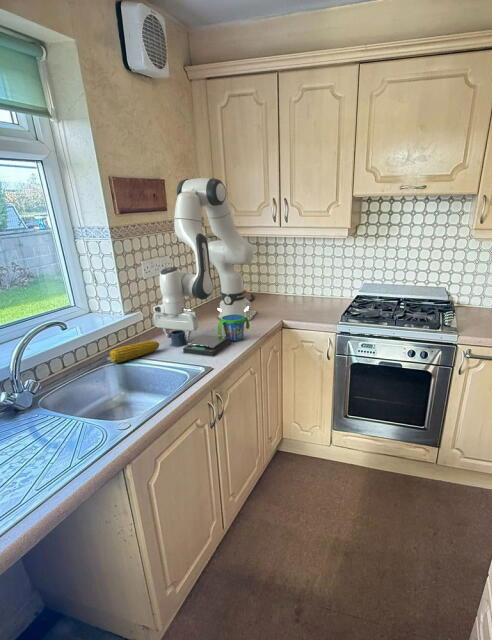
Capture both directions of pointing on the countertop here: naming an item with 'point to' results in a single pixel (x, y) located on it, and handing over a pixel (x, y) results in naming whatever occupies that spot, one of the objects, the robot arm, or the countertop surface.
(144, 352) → the food
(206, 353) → the scale
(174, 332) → the dark blue faceted pot
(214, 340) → the scale pan
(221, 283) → the robot arm
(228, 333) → the snack cup
